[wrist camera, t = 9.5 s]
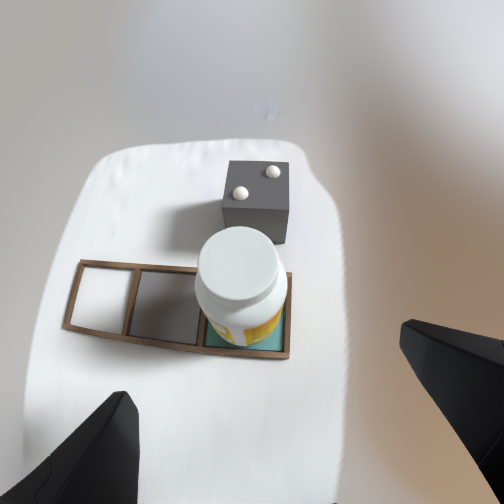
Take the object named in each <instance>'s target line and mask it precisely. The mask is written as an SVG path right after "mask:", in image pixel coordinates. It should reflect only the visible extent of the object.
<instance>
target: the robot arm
mask: <svg viewBox="0 0 504 504" xmlns="http://www.w3.org/2000/svg"><path fill="white" fill-rule="evenodd" d="M399 342H400V348H401V350H402V352H403V354H404V355H405V357H406V358H407V360H408V362H409V364H410V365H411V367H412V369H413V371H414V372H415V374H416V376H417V378H418V379H419V381H420V382H421V384H422V385H423V387H424V388H425V389H426V391H427V392H428V394H429V395H430V396H431V397H432V399H433V400H434V402H435V403H436V405H437V406H438V407H439V409H440V410H441V412H442V413H443V415H444V416H445V417H446V419H447V420H448V422H449V423H450V425H451V426H452V427H453V429H454V430H455V432H456V433H457V435H458V436H459V438H460V439H461V441H462V442H463V444H464V445H465V447H466V448H467V450H468V451H469V453H470V455H471V456H472V458H473V459H474V461H475V462H476V464H477V465H478V467H479V469H480V471H481V472H482V474H483V475H484V477H485V479H486V480H487V482H488V484H489V485H490V487H491V488H492V490H493V492H494V494H495V495H496V497H497V499H498V501H499V502H500V504H504V340H499V339H495V338H490V337H486V336H482V335H477V334H472V333H469V332H464V331H460V330H456V329H451V328H447V327H443V326H439V325H435V324H431V323H427V322H423V321H419V320H415V319H410V320H409V321H406V322H404V323H403V324H402V325H401V332H400V341H399ZM139 459H140V444H139V413H138V409H137V407H136V406H135V404H134V402H133V401H132V399H131V397H130V396H129V394H128V393H127V392H126V391H117V392H114V393H112V394H111V395H110V396H109V397H108V398H107V399H106V400H105V401H104V402H103V403H102V404H101V405H100V406H99V407H98V408H97V409H96V410H95V411H94V412H93V413H92V414H91V415H90V416H89V417H88V418H87V419H86V420H85V421H84V422H83V423H82V424H81V425H80V426H79V427H78V428H77V429H76V430H75V431H74V432H73V433H72V434H71V435H70V436H69V437H68V438H67V439H66V440H65V441H64V442H63V443H61V444H60V445H59V446H58V447H57V448H56V449H55V450H54V451H53V452H52V453H51V454H50V456H48V457H47V458H46V459H45V460H44V461H43V462H42V463H41V464H40V465H39V466H38V467H37V468H36V469H34V470H33V471H32V472H31V473H30V474H29V475H27V476H26V477H25V478H24V479H23V480H21V481H20V482H19V483H17V484H16V485H15V486H14V487H12V488H11V489H10V490H8V491H7V492H6V493H5V494H3V495H2V496H0V504H137V499H138V475H139ZM334 504H337V503H334Z"/></svg>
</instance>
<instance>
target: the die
mask: <svg viewBox="0 0 504 504" xmlns="http://www.w3.org/2000/svg"><path fill="white" fill-rule="evenodd" d="M222 211H223V216H224V222H225V227H226V228H230V227H239V226H241V227H249V228H253V229H255V230H258V231H260V232H262V233H263V234H264V235H266V236H267V237H268V238H269V239H270V240H271V241H272V243H285V238H286V230H287V223H288V215H289V162H268V161H229V166H228V172H227V178H226V184H225V190H224V196H223V202H222Z"/></svg>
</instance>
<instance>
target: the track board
mask: <svg viewBox="0 0 504 504" xmlns="http://www.w3.org/2000/svg"><path fill="white" fill-rule="evenodd" d="M85 265H86V266H96V267H108V268H119V269H131V270H135V272H134V276H133V281H132V285H131V290H130V294H129V299H128V303H127V308H126V313H125V318H124V324H123V329H122V335H117V334H112V333H106V332H101V331H97V330H92V329H87V328H83V327H78V326H74V325H70V321H71V317H72V312H73V308H74V304H75V300H76V296H77V292H78V288H79V284H80V281H81V277H82V274H83V270H84V267H85ZM141 270H144V271H157V272H171V273H185V274H197V271H198V268H195V267H179V266H164V265H149V264H135V263H121V262H108V261H95V260H83V259H81V260H80V263H79V266H78V270H77V273H76V276H75V280H74V283H73V287H72V291H71V295H70V298H69V302H68V307H67V311H66V315H65V320H64V324H63V327H64V328H66V329H70V330H74V331H78V332H82V333H86V334H91V335H95V336H100V337H105V338H110V339H115V340H120V341H125V342H131V343H136V344H142V345H148V346H155V347H161V348H168V349H175V350H183V351H191V352H200V353H209V354H219V355H231V356H244V357H259V358H280V359H289V353H290V327H291V289H292V273H289V272H286V275H287V294H286V309H285V335H284V353H279V352H259V351H243V350H230V349H218V348H208V347H204V338H205V329H206V321H207V317H206V315H205V314H204V312H203V310H202V311H201V318H200V310H201V307H200V305H199V303H198V300H197V297H196V293H195V278H196V275H181V274H167V273H154V272H142V275H141ZM140 275H141V279H140ZM139 279H140V284H139V288H138V283H139ZM137 288H138V293H137ZM136 293H137V298H136V302H135V297H136ZM134 302H135V307H134ZM133 307H134V313H133V318H132V312H133ZM131 318H132V323H131ZM199 318H200V326H199ZM130 323H131V329H130V334H129V328H130ZM198 326H199V334H198ZM282 326H283V308H282V312H281V316H280V319H279V323H278V325H277V327H276V329H275V331H274V332H273V333H272V334H271V335H270V336H269V337H268V338H267V339H266V340H264V341H262V342H261V343H259V344H256V345H253V346H237V345H234V344H231V343H229V342H227V341H226V340H224V339H223V338H222V337H221V336H220V335H219V334H218V333H217V332H216V330H215V329H214V327H213V326H212V324H211V323H210V321H208V329H207V338H206V346H214V347H225V348H238V349H252V350H271V351H281V348H282ZM128 334H129V335H131V336H137V337H143V338H150V339H156V340H163V341H171V342H178V343H186V344H195V345H196V342H197V334H198V343H197V346H190V345H182V344H174V343H166V342H159V341H153V340H146V339H140V338H134V337H128Z"/></svg>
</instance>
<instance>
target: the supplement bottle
mask: <svg viewBox="0 0 504 504" xmlns="http://www.w3.org/2000/svg"><path fill="white" fill-rule="evenodd" d="M195 293H196V297H197V300H198V303H199V305H200V307H201V309H202V310H203V312H204V314H205V315H206V317H207V318H208V320H209V321H210V323H211V324H212V326H213V327H214V329H215V330H216V332H217V333H218V334H219V335H220V336H221V337H222V338H223V339H224V340H226V341H227V342H229V343H231V344H234V345H237V346H253V345H256V344H259V343H261V342H262V341H264V340H266V339H267V338H268V337H269V336H270V335H271V334H272V333H273V332H274V331H275V329H276V327H277V325H278V323H279V319H280V316H281V312H282V308H283V305H284V302H285V298H286V294H287V275H286V272H285V269H284V267H283V265H282V263H281V261H280V260H279V257H278V253H277V250H276V248H275V246H274V244H273V243H272V241H271V240H270V239H269V238H268V237H267V236H266V235H264V234H263V233H262V232H260V231H258V230H255V229H253V228H249V227H241V226H239V227H230V228H226V229H223V230H221V231H219V232H217V233H215V234H214V235H213V236H211V237H210V238H209V239H208V240H207V241H206V242H205V244H204V245H203V247H202V249H201V251H200V253H199V257H198V271H197V274H196V278H195Z"/></svg>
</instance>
